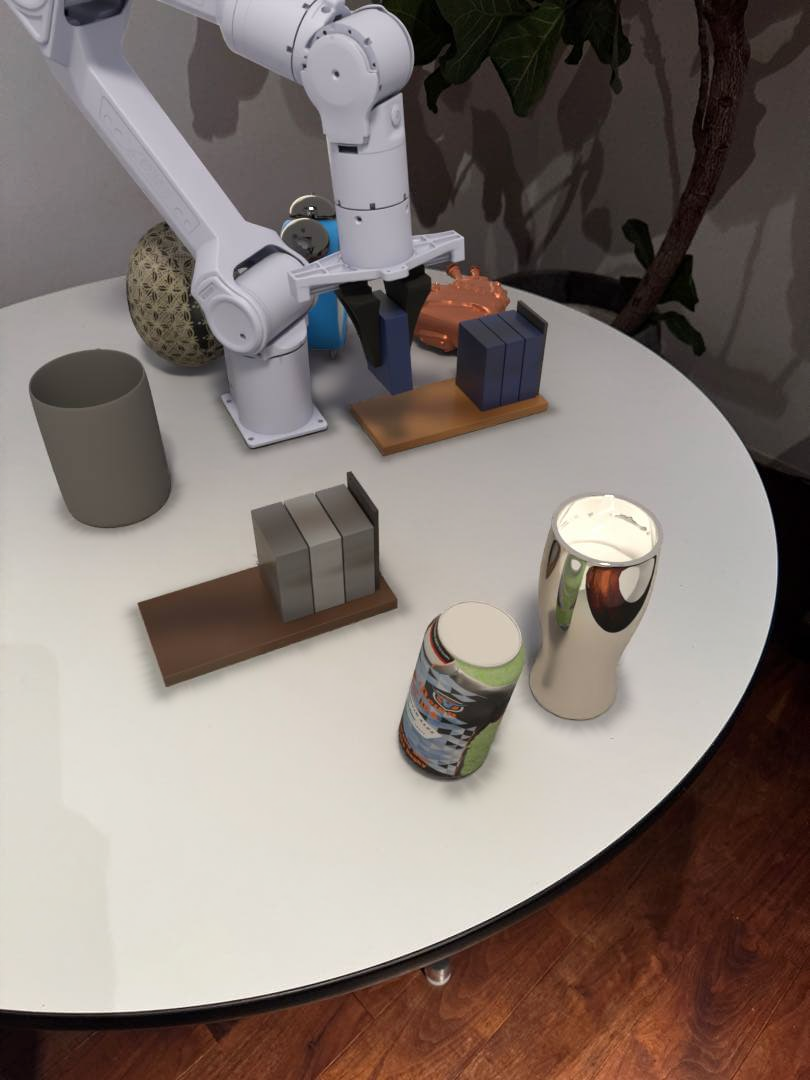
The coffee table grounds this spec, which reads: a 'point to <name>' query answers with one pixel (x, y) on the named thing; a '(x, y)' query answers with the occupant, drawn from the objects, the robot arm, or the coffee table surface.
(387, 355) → the navy book
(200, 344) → the decorative egg
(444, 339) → the heart
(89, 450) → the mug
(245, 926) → the coffee table surface
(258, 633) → the walnut book board
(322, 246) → the alarm clock
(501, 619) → the beverage can
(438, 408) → the oak book board
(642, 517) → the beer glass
